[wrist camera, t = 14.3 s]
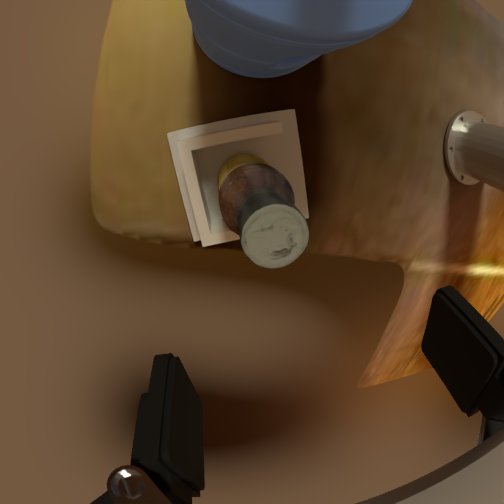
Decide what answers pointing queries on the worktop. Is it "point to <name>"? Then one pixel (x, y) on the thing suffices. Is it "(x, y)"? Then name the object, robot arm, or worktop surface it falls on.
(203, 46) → the water jug
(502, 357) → the robot arm
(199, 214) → the end holder
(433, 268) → the worktop surface
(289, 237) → the sauce bottle
